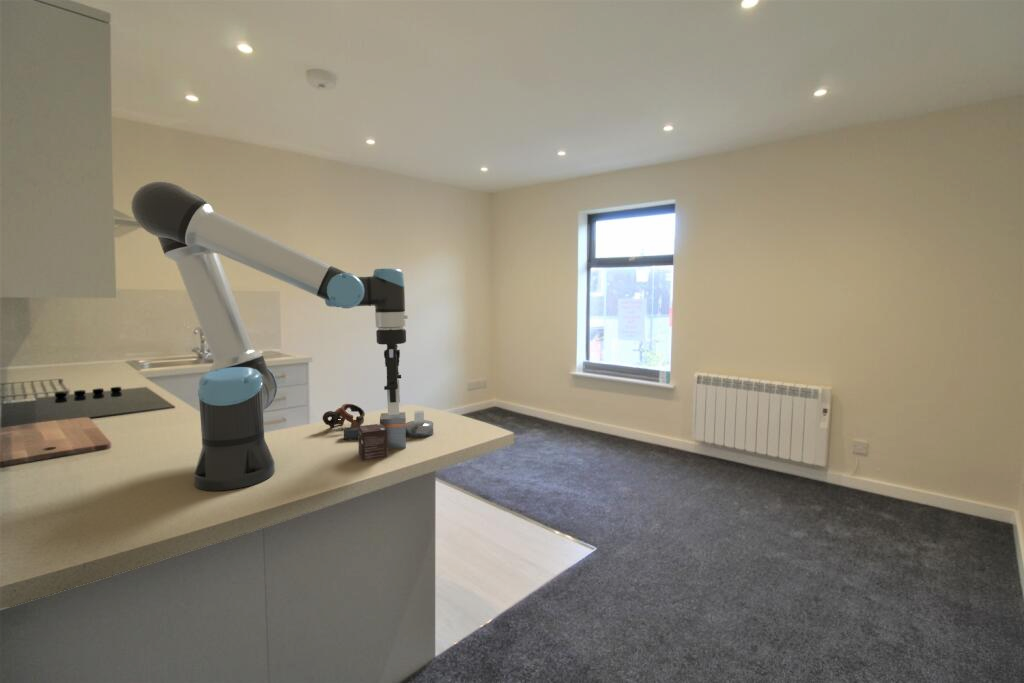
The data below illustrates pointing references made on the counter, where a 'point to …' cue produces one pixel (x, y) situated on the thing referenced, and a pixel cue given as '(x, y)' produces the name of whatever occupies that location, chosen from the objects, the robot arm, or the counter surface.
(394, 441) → the orange-striped grey cube
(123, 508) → the counter surface
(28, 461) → the counter surface
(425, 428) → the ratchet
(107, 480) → the counter surface
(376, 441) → the box
